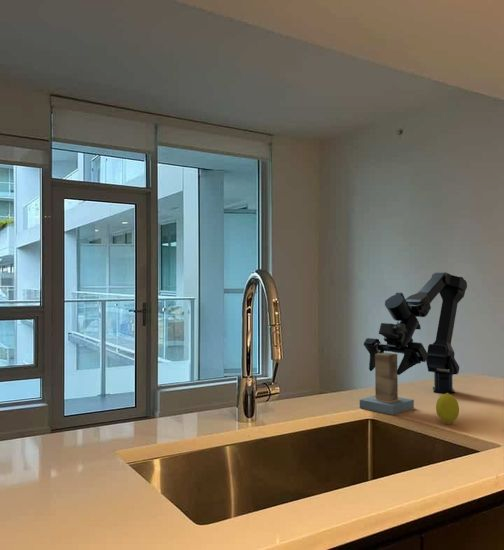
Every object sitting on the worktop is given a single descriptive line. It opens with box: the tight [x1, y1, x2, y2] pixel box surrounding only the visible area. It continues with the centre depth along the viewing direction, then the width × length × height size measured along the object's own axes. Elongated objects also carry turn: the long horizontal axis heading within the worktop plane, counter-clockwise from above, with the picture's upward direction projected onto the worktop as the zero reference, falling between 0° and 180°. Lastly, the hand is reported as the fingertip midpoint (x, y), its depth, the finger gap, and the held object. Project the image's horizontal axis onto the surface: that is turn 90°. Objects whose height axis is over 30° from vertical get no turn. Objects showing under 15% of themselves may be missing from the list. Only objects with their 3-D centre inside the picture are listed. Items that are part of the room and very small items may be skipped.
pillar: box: [374, 352, 399, 401], centre depth 150 cm, size 4×4×13 cm
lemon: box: [435, 393, 460, 425], centre depth 132 cm, size 6×6×8 cm
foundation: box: [359, 394, 415, 416], centre depth 150 cm, size 11×11×3 cm
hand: (383, 372), depth 149 cm, fingers open, 9 cm apart
